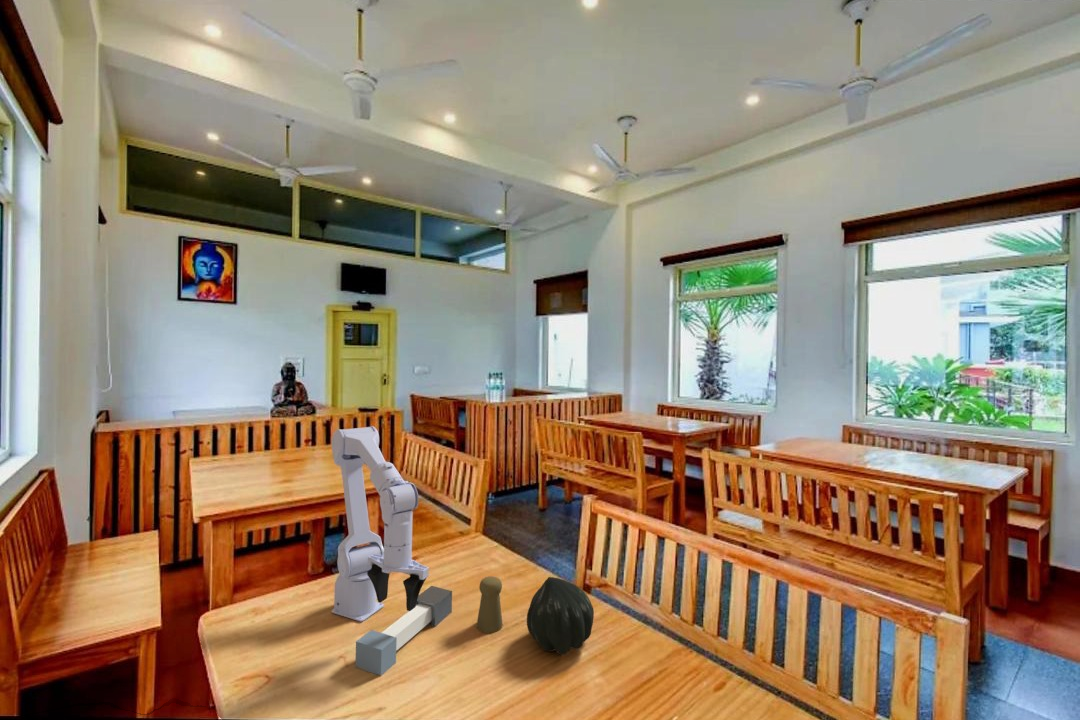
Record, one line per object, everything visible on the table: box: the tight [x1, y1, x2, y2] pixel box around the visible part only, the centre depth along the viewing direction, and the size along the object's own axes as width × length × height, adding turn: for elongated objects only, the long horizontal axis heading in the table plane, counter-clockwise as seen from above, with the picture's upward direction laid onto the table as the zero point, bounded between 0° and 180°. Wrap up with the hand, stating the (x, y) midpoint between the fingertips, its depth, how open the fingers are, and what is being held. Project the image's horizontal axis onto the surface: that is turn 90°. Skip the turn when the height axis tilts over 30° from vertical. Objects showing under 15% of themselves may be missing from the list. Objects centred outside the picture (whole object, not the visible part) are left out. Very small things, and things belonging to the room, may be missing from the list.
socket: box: [355, 629, 397, 677], centre depth 100 cm, size 6×4×5 cm
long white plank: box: [381, 602, 433, 652], centre depth 108 cm, size 4×19×4 cm, turn 157°
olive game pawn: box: [476, 575, 504, 634], centre depth 115 cm, size 6×6×11 cm
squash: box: [526, 576, 595, 655], centre depth 110 cm, size 14×15×15 cm
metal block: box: [416, 585, 453, 627], centre depth 119 cm, size 6×7×5 cm
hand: (396, 604), depth 106 cm, fingers open, 7 cm apart
